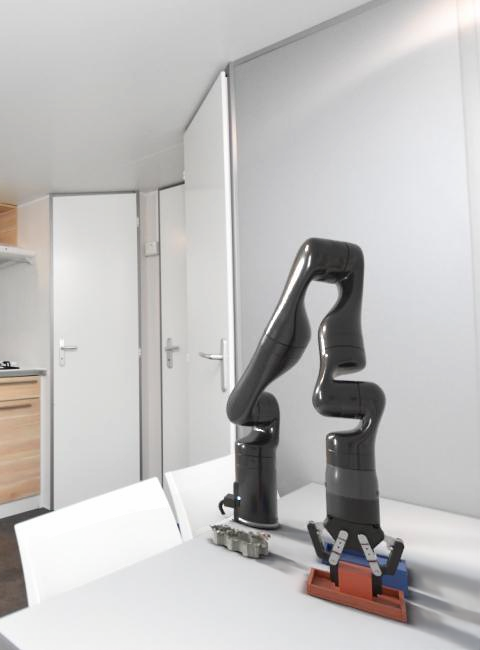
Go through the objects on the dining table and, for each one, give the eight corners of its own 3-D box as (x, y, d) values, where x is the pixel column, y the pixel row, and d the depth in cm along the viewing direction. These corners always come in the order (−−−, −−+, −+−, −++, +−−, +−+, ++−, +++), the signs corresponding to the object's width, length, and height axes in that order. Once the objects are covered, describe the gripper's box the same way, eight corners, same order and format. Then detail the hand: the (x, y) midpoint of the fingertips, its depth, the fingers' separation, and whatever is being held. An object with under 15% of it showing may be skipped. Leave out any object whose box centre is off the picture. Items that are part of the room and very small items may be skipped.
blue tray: (321, 563, 98) (321, 554, 98) (324, 549, 105) (324, 541, 105) (408, 585, 89) (408, 575, 90) (405, 568, 96) (405, 560, 97)
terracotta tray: (306, 593, 85) (306, 583, 85) (311, 576, 92) (311, 566, 92) (406, 623, 76) (406, 612, 77) (403, 601, 83) (403, 590, 84)
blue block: (374, 588, 87) (373, 563, 88) (374, 580, 91) (373, 555, 91) (408, 597, 85) (406, 571, 85) (406, 588, 88) (405, 563, 88)
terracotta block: (339, 595, 84) (338, 568, 84) (340, 585, 87) (339, 560, 88) (372, 604, 81) (371, 577, 81) (372, 594, 84) (371, 568, 85)
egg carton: (274, 554, 101) (273, 535, 102) (250, 560, 98) (250, 540, 99) (228, 536, 111) (228, 518, 111) (206, 540, 108) (206, 521, 108)
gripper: (404, 495, 84) (409, 596, 82) (305, 479, 93) (308, 570, 92) (406, 505, 78) (412, 614, 77) (301, 487, 87) (304, 584, 86)
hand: (355, 589), depth 84 cm, fingers closed on terracotta block, 4 cm apart
